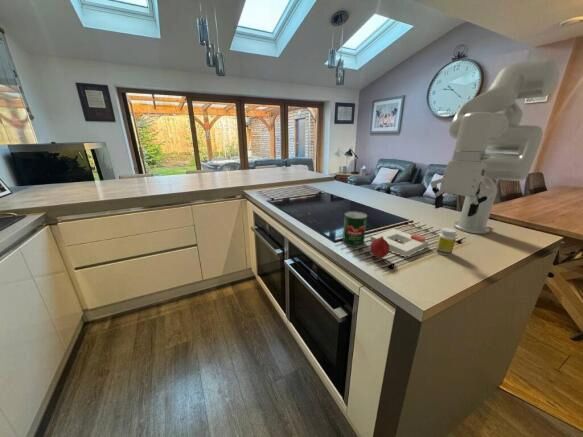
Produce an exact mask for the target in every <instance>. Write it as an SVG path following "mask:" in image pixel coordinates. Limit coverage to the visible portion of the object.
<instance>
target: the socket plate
mask: <svg viewBox="0 0 583 437" xmlns="http://www.w3.org/2000/svg"><path fill="white" fill-rule="evenodd" d="M381 236H383V239H384V240H386V241H387V243H388V244H389V247H390V248H389V250H391V251H394V252H397V253H399V254H401V255H404V256H407V255H409V254H411V253H413V252H415V251H418V250H420V249H422V248H425V247H427V246H429V242H430V241H429V240H426V239H427V238H426V237H424V236H420V235H418V234H409V233H408V232H404V231H401V230H399V229H396V228H391V229H388V230H385V231H382V232H379V233H378V234H374V235H371V236H370V240H369V241H370V242H373V241H374V240H375V239H377V238H380V237H381ZM394 239H397V240H396V241H395V240H394ZM398 240H400V241H403V242H406V243H403V242H402V243H403V244H402V243H401V242H400V241H398ZM427 248H428V247H427ZM425 249H426V248H425Z"/></svg>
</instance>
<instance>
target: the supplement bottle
mask: <svg viewBox="0 0 583 437" xmlns="http://www.w3.org/2000/svg"><path fill="white" fill-rule="evenodd" d="M456 234H457V231H456V230H455V229H453V228H450V227H442V228H441V232H440V233H439V236H438V238H437V242H436V247H435V252H436V251H437V252H436V253H438V254H440V255H443V256H451V255H452V254H453V249H454V246H455V242H456V238H457V236H456Z"/></svg>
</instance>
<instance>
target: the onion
mask: <svg viewBox="0 0 583 437" xmlns="http://www.w3.org/2000/svg"><path fill="white" fill-rule="evenodd" d="M389 248H390V247H389V244H388V243H387V241H386V240H384V239H383V236H381V237H380V238H377V239H375V240H374V241H373V242H372V243H370V252H371V254H372V255H373V256H374V257H375V258H376V259H378V260H380V259H382V258H384V257H386V256H388V254H389V252H390V251H389ZM379 258H380V259H379Z"/></svg>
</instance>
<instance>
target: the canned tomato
mask: <svg viewBox="0 0 583 437" xmlns="http://www.w3.org/2000/svg"><path fill="white" fill-rule="evenodd" d="M367 218H368V215H367V213H365V212H361V211H357V210H352V211H351V210H350V211H347V212H344V218H343V219H344V220H343V231H342V233H343V234H342V243H343V244H344V245H346V246H350V247H362V246H363V245H364V244H365V235H366V228H367V227H366V226H367ZM361 245H362V246H361Z"/></svg>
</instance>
